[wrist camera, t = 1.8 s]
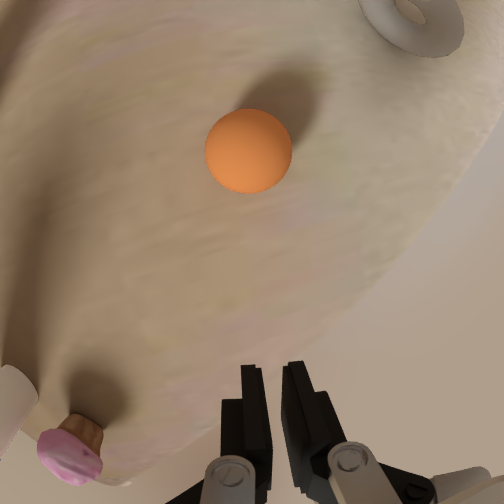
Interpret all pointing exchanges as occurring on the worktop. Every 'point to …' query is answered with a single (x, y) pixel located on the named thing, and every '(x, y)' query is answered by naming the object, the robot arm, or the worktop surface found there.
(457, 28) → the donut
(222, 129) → the ball
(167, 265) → the worktop surface
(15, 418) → the cylindrical container
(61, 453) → the cupcake
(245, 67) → the worktop surface
